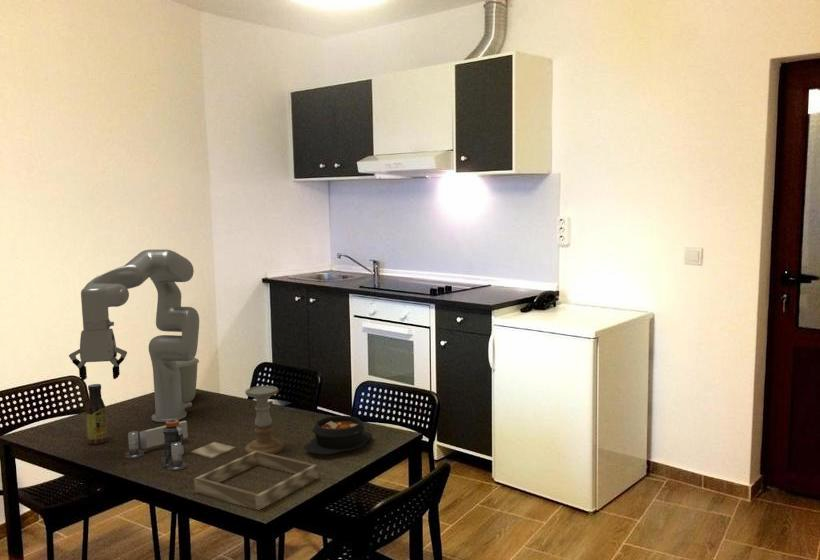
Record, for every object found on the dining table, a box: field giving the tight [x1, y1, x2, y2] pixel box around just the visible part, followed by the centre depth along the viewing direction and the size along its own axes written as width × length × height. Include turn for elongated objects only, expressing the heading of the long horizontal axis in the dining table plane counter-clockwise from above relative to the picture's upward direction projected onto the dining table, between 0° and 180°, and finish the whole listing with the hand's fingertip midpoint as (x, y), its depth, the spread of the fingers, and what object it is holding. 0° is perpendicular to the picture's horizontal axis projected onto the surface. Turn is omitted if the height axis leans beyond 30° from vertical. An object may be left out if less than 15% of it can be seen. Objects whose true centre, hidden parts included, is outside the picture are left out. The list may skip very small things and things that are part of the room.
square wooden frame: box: [193, 451, 319, 511], centre depth 196 cm, size 24×24×4 cm
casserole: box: [303, 415, 373, 456], centre depth 225 cm, size 25×19×8 cm
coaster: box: [190, 441, 237, 460], centre depth 224 cm, size 10×10×1 cm
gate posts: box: [124, 430, 188, 472], centre depth 216 cm, size 26×6×8 cm, turn 59°
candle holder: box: [244, 385, 284, 455], centre depth 223 cm, size 12×12×20 cm
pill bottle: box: [163, 420, 185, 459], centre depth 220 cm, size 6×6×11 cm
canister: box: [175, 356, 200, 403], centre depth 279 cm, size 18×18×21 cm
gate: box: [139, 420, 189, 450], centre depth 228 cm, size 16×2×6 cm, turn 134°
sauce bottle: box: [85, 383, 108, 445], centre depth 233 cm, size 6×6×20 cm
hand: (99, 378), depth 218 cm, fingers open, 9 cm apart
